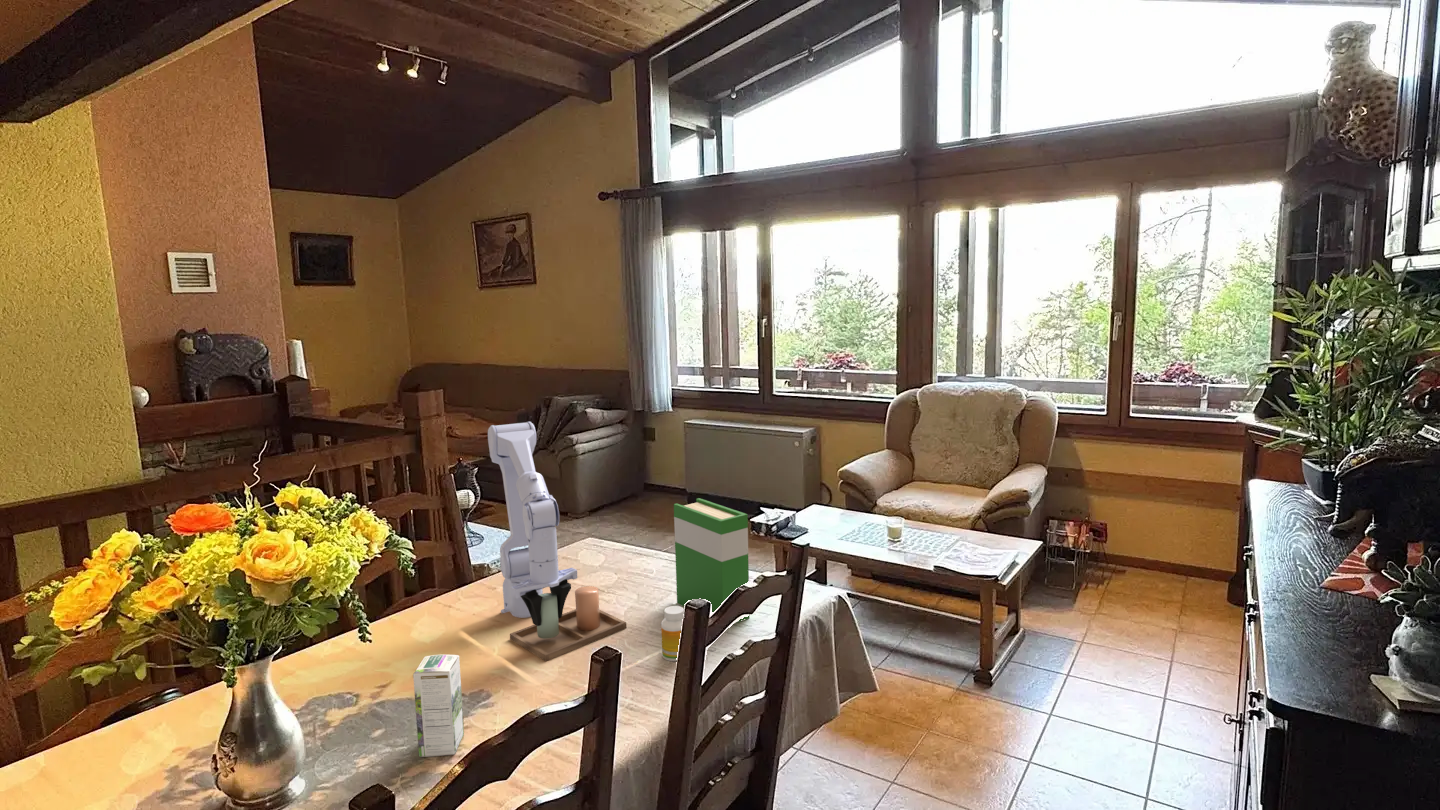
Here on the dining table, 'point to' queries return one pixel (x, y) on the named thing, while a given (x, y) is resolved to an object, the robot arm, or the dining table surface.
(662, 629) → the supplement bottle
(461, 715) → the syrup box
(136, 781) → the dining table surface
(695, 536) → the hardback book
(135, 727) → the dining table surface
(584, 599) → the peach cylinder pillar
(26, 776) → the dining table surface
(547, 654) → the walnut tray
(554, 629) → the sage tube
